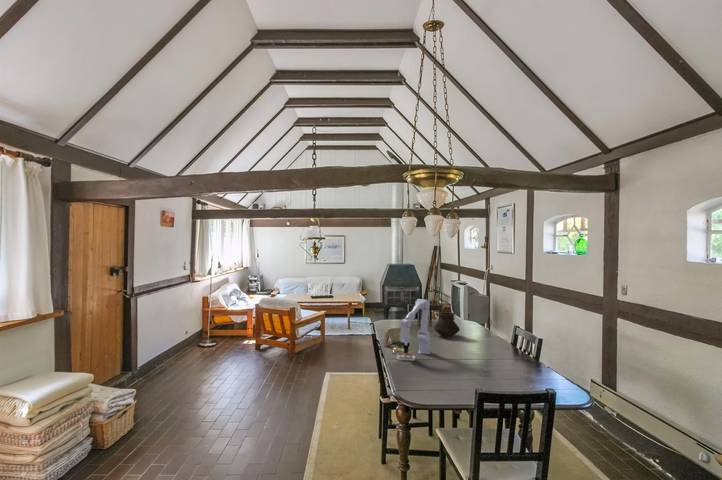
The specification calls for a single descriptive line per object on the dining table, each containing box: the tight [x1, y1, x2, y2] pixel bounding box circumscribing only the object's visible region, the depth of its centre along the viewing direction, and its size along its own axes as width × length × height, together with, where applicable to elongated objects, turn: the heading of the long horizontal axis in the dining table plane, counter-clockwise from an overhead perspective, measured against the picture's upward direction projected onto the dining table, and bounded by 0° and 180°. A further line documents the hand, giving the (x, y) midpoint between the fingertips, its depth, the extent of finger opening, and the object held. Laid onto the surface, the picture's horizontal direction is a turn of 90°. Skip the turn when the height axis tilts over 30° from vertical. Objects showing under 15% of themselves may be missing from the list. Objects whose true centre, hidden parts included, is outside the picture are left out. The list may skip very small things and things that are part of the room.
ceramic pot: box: [433, 311, 461, 338], centre depth 360 cm, size 24×24×22 cm
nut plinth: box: [390, 348, 398, 355], centre depth 305 cm, size 9×9×1 cm
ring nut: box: [392, 344, 401, 352], centre depth 306 cm, size 8×6×3 cm
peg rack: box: [396, 354, 416, 362], centre depth 289 cm, size 14×8×4 cm, turn 82°
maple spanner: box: [397, 348, 413, 356], centre depth 289 cm, size 11×4×4 cm, turn 82°
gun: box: [382, 326, 402, 348], centre depth 332 cm, size 24×3×15 cm, turn 143°
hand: (406, 352), depth 289 cm, fingers closed on maple spanner, 3 cm apart
